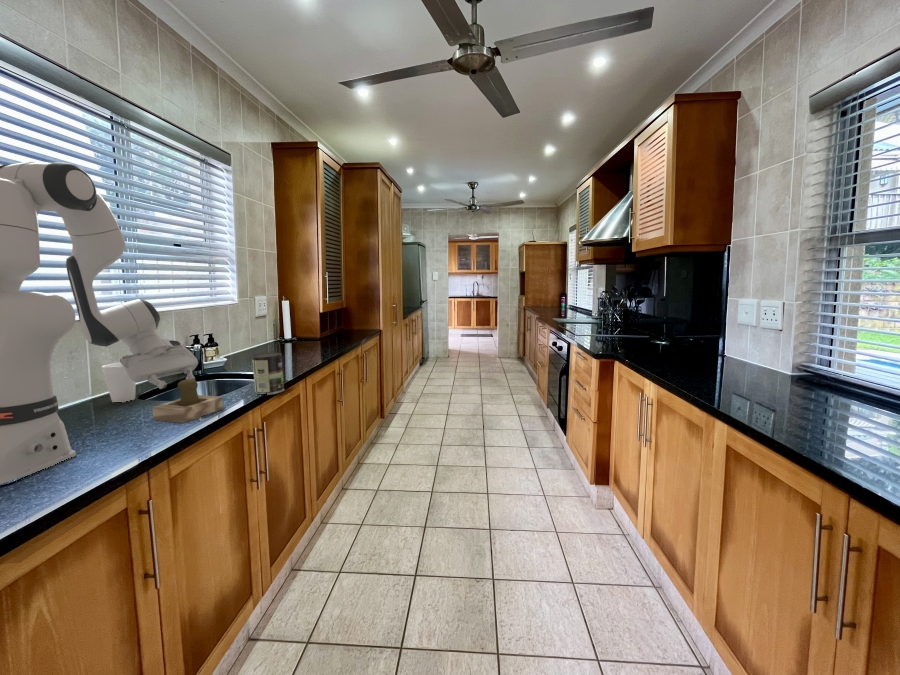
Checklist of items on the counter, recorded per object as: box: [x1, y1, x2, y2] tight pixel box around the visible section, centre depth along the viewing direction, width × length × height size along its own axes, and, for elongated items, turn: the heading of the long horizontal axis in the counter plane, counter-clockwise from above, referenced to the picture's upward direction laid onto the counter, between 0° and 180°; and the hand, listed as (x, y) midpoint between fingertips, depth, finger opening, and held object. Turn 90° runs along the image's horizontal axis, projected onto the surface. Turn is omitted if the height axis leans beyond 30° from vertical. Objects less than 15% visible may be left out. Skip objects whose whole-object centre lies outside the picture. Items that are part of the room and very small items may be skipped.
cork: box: [177, 379, 200, 406], centre depth 126 cm, size 6×6×11 cm
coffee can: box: [251, 352, 285, 396], centre depth 152 cm, size 10×10×14 cm
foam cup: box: [101, 362, 137, 403], centre depth 144 cm, size 10×9×13 cm
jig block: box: [151, 394, 224, 423], centre depth 127 cm, size 14×12×4 cm
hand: (178, 383), depth 127 cm, fingers open, 8 cm apart
